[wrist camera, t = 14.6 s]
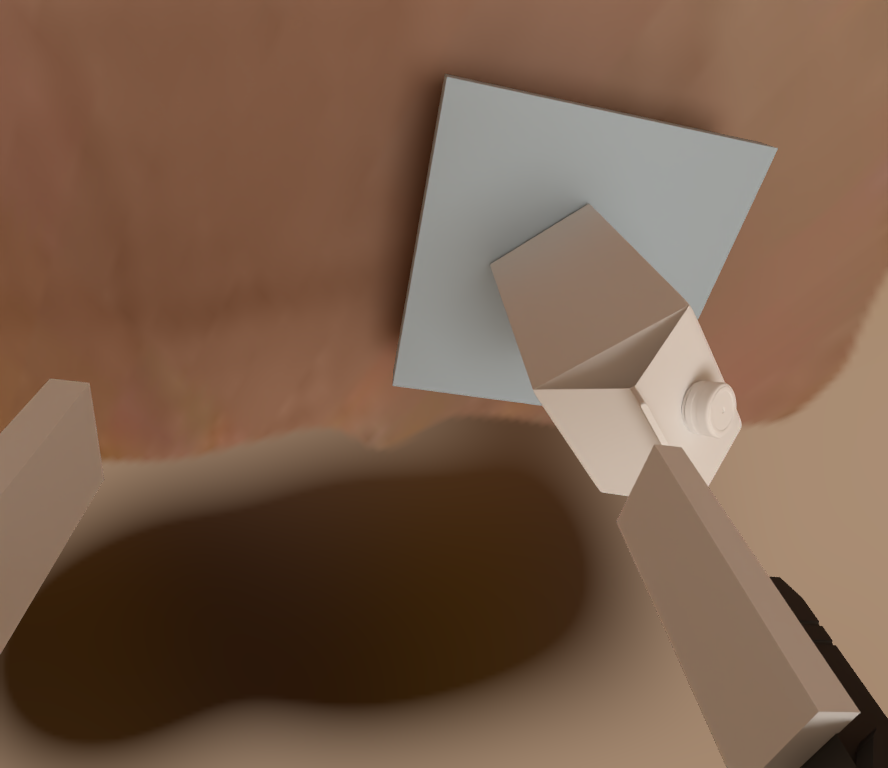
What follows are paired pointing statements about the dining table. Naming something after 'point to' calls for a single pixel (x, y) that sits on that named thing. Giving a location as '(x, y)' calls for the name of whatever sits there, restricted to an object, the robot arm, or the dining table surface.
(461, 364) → the grey square footed tray
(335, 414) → the dining table surface
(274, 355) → the dining table surface
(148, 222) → the dining table surface
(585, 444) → the milk carton
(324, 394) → the dining table surface
